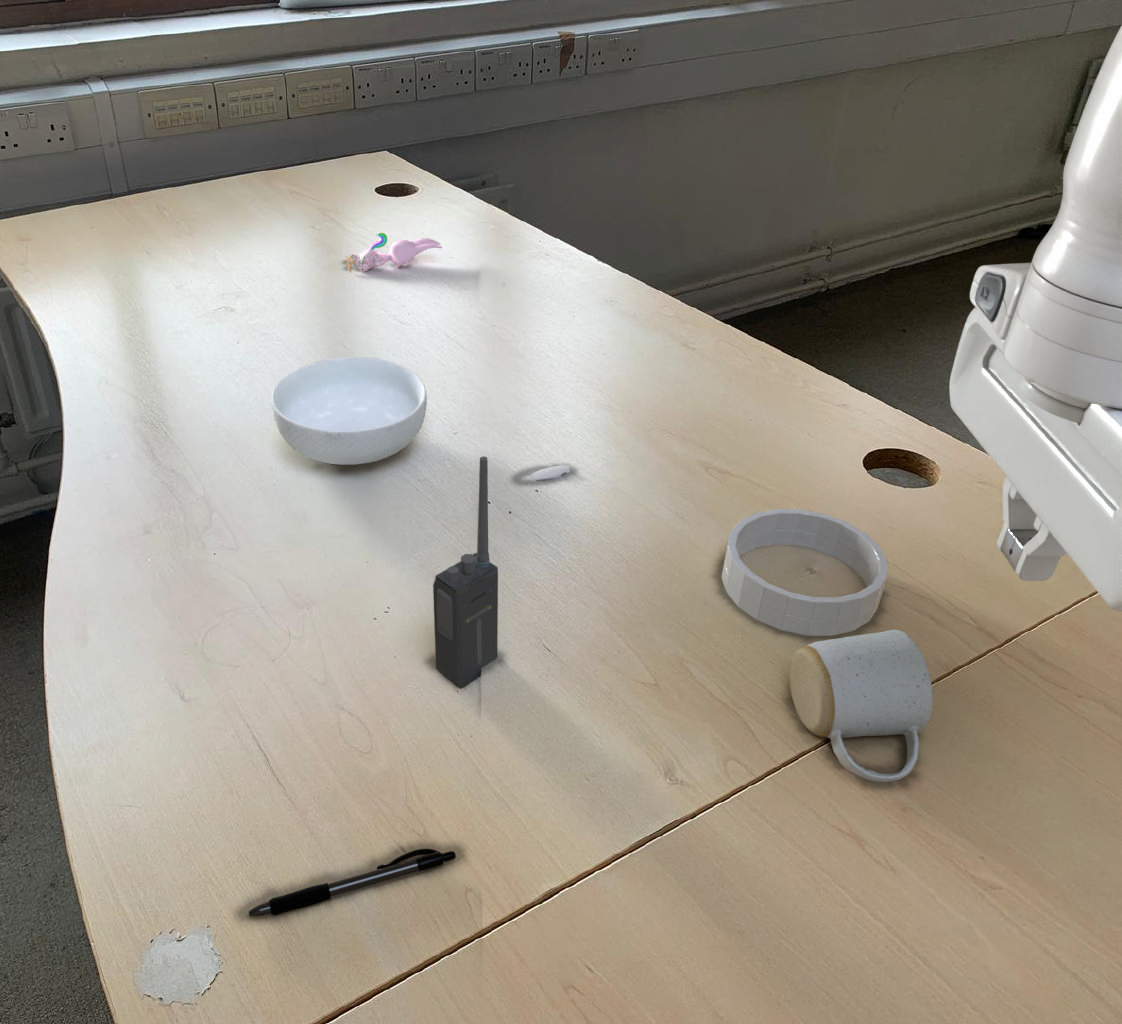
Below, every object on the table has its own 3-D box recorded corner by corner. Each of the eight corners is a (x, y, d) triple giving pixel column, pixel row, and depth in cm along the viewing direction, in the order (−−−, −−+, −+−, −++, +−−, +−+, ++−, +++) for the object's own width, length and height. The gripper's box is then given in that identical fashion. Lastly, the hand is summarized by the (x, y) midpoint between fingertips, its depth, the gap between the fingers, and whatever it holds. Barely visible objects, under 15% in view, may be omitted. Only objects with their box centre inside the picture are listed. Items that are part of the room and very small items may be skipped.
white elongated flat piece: (519, 494, 104) (519, 485, 103) (512, 481, 106) (512, 473, 105) (574, 481, 105) (574, 472, 104) (566, 469, 107) (565, 460, 106)
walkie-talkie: (472, 642, 85) (473, 443, 73) (500, 663, 83) (505, 461, 71) (430, 669, 82) (424, 467, 71) (457, 691, 80) (455, 486, 69)
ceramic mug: (776, 689, 80) (795, 619, 75) (873, 680, 81) (898, 609, 76) (832, 797, 71) (858, 725, 67) (941, 785, 72) (973, 713, 68)
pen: (450, 846, 68) (450, 836, 68) (457, 866, 67) (457, 856, 66) (247, 904, 65) (245, 894, 64) (251, 926, 64) (249, 916, 63)
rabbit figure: (352, 285, 153) (446, 263, 153) (343, 249, 149) (439, 226, 150) (348, 270, 158) (439, 248, 158) (339, 235, 154) (433, 212, 155)
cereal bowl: (248, 466, 109) (239, 410, 104) (325, 398, 121) (320, 346, 117) (385, 501, 103) (382, 443, 98) (451, 427, 115) (451, 372, 111)
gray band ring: (849, 547, 95) (859, 509, 93) (897, 643, 84) (911, 602, 82) (708, 546, 96) (715, 508, 93) (738, 641, 85) (746, 601, 82)
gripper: (1340, 451, 38) (1190, 703, 46) (1078, 256, 55) (1001, 466, 63) (1173, 451, 39) (1052, 701, 47) (962, 257, 55) (900, 466, 63)
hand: (1021, 564), depth 55 cm, fingers closed
